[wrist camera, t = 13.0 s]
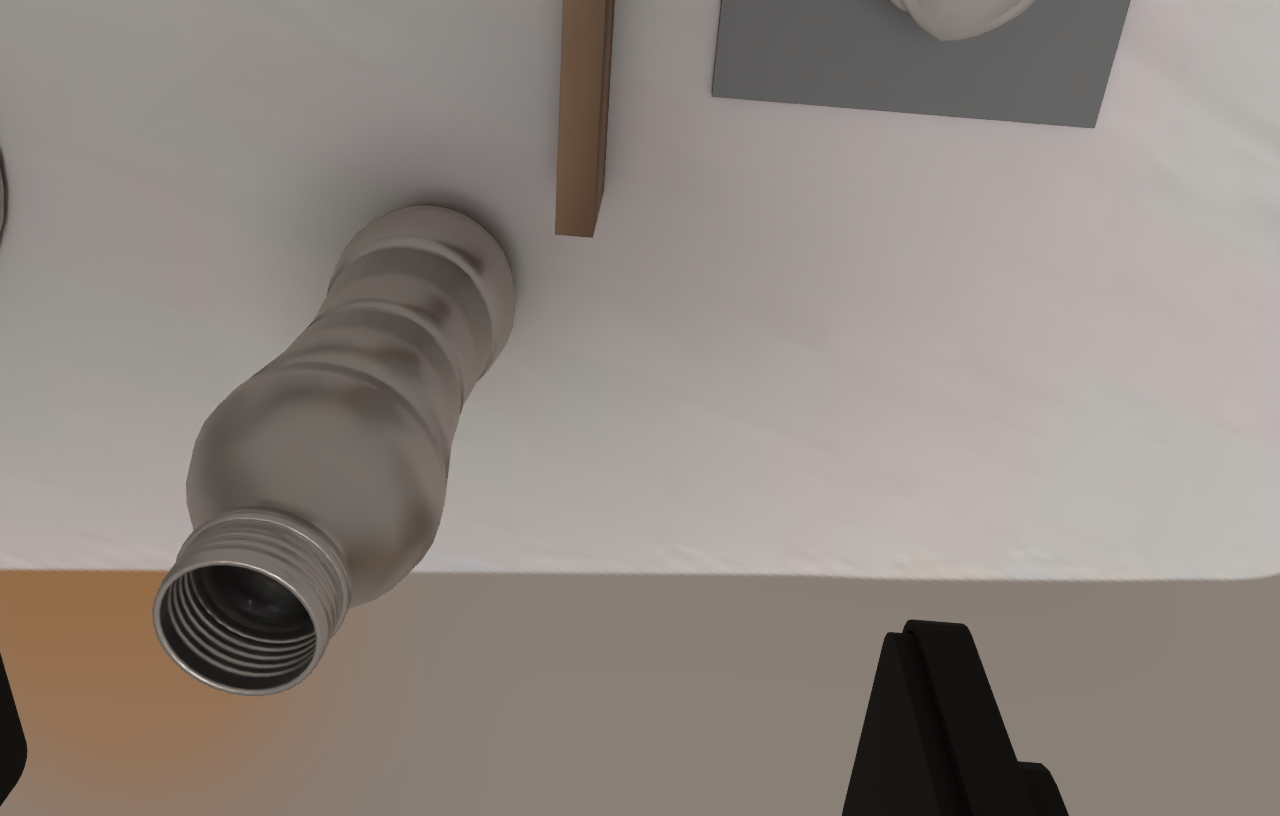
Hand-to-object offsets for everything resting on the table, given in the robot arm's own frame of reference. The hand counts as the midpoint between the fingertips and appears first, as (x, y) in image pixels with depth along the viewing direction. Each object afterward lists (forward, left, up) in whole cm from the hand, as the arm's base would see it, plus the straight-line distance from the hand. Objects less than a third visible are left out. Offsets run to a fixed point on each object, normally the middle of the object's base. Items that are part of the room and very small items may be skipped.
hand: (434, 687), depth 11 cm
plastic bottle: (-6, -7, -28) cm, 30 cm away
